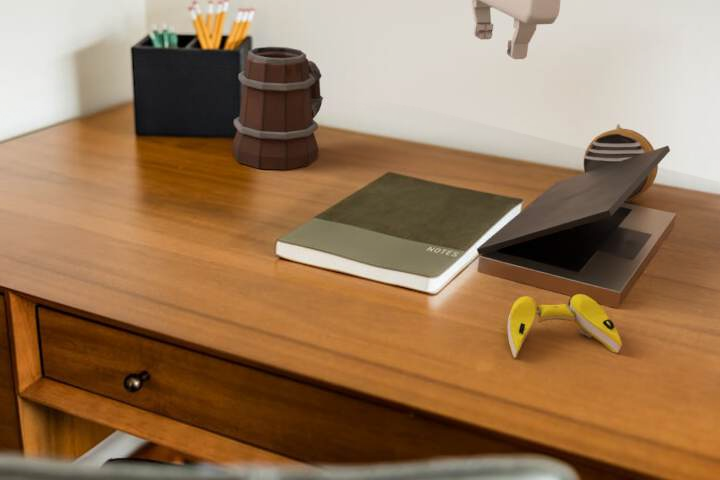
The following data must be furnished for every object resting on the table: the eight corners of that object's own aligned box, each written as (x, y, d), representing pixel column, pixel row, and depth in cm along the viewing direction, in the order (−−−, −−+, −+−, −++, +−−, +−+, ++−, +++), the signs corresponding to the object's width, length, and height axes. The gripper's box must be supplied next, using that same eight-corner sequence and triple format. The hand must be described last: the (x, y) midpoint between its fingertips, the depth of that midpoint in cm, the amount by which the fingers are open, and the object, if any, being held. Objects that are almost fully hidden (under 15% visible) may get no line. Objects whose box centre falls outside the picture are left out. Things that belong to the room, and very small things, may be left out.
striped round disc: (575, 193, 120) (586, 120, 116) (588, 186, 123) (599, 115, 119) (642, 211, 115) (656, 136, 111) (654, 204, 117) (668, 130, 113)
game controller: (591, 310, 86) (602, 286, 84) (614, 363, 82) (626, 339, 79) (492, 314, 85) (500, 290, 82) (509, 369, 80) (518, 345, 78)
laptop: (673, 227, 110) (676, 212, 109) (617, 308, 89) (620, 291, 88) (555, 201, 117) (557, 187, 116) (477, 271, 96) (479, 255, 95)
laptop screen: (670, 151, 107) (668, 145, 107) (611, 217, 86) (608, 209, 86) (557, 188, 116) (555, 182, 116) (479, 255, 95) (476, 249, 95)
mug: (282, 176, 121) (284, 65, 115) (216, 157, 127) (214, 51, 121) (349, 150, 133) (354, 48, 127) (286, 134, 139) (287, 36, 133)
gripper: (585, -67, 90) (566, 69, 96) (500, -89, 108) (489, 27, 113) (528, -67, 88) (512, 72, 94) (451, -89, 106) (442, 28, 112)
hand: (498, 47), depth 104 cm, fingers open, 8 cm apart
